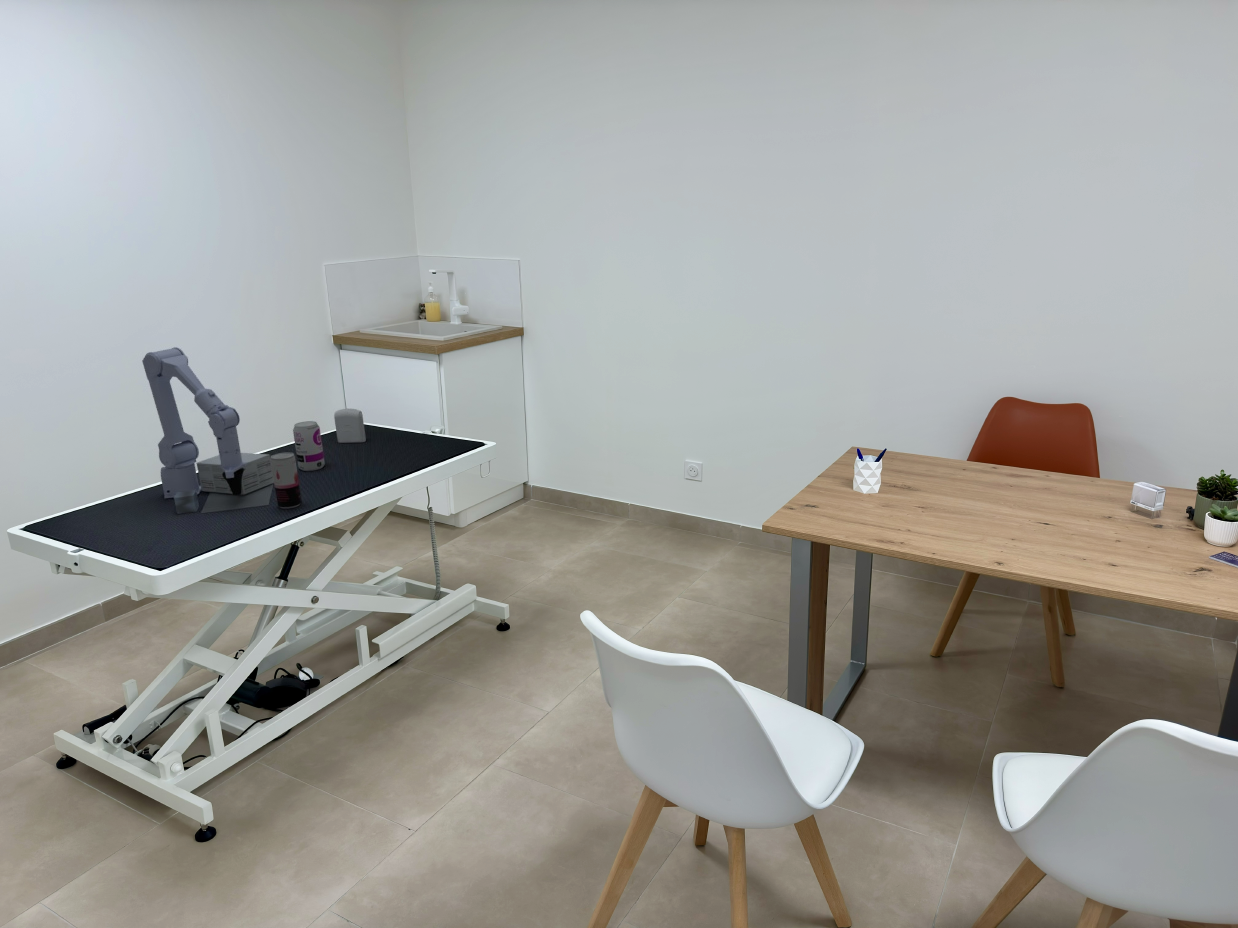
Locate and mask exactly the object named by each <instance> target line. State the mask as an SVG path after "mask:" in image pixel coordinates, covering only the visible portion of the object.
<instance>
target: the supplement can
mask: <svg viewBox="0 0 1238 928" xmlns="http://www.w3.org/2000/svg"><path fill="white" fill-rule="evenodd" d="M292 432H293V433H292V434H293V439H294V447H295V452H296V460H297V468H298V469H300V470H301V471H303V472H304V471H305V472H313V471H318V470H320V469H322V468H323V467H324V466H325V464H326V463H325V455H324V449H323V448H324V447H323V442H322V434H321V428H320V425H319V424H318V422H317V421H313V420H312V421H300V422H297V423H294V426H293V429H292Z"/></svg>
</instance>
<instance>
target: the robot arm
mask: <svg viewBox="0 0 1238 928" xmlns="http://www.w3.org/2000/svg"><path fill="white" fill-rule="evenodd" d="M142 365H143V369H144V371H145V375H146V379H147V380H148V385H149V387H150V390H151V394H152V398H153V401H154V406H155V408H156V412H157V415H158V418H159V421H160V426H161V428H162V433H163V437H161V439H160V441H159V442H158V444H157V446H158V458H159V461H160V463H161V464H162V465H163V466H162V467H161V468H160V480H161V485H162V489H163V495H164V497H163V498H164V499H170V498H173V499H174V497H175V495H176V493H177V492H184V491H193V490H196V492H197V496H198V495H200V492H201V491H202V490H201V485H199V484H200V483H199V480H198V474H197V470H196V466H195V465H196V464H195V463H197V459H198V458H199V456H200V455H199V454H200V451H199V447H198V445H197V443H196V442H195V440H194V437H193V436H192V435H190V434H189V433H187V432H185V430H184V427H183V424H182V420H181V417H180V413H179V410H178V405H177V403H176V402H177V401H176V399H175V394H174V391H173V387H172V383H171V380H172V379H173V377H174V378H176V379H177V380H179V381H180V382H181V384H183V385H184V387H186V389H188V390H189V392H191V393H192V394H193V395H194V398H193V399H194V403H195V404H196V405H197V406H198V408H199V409H201V411H202V412H203V413H204V415H206V417H208V422H207V423H208V426H209V427H210V429H211V430H212V433H213V435H214V437H215V438H216V445H217V449H218V450H217V451H218V455H219V456H220V461H221V469H222V470H223V471H224V472H223V473H222V476H223V477H224V479H225V480H226V481H227V483H228V484H229V487H230V489H231V491H232V493H233V495H238V494H241V490H242V476H243V472H244V468H241V467H243V466H247V462H242V457H241V453H242V452H241V445H240V441H239V435H238V430H237V429H238V427H237V426H238V425H239V424H240V420H241V419H240V415H239V413H238V412H237V410H236V408H234V407H231V406H229V405H227V404H225V403H224V402H223V401H222V400H221V398H219V396H218V395H217V394H216V393H215V392H214V391H213V390H212V388H211V389H210V388H205V386H204V384H202V382H201V381H200V379H199V378H198V377H197V375H196V373H194V371H193V370H192V369H191V367H190V366H189V357H188V356H187V355H186V354H185V352H184V351H183V350H182V348H179V347H177V346H176V347H175V346H174V347H171V348H168V349H163V350H158V351H153V352H152V351H151V352H147V353H146V354H145V355H144V357H143V358H142Z"/></svg>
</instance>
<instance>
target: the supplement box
mask: <svg viewBox="0 0 1238 928" xmlns="http://www.w3.org/2000/svg"><path fill="white" fill-rule="evenodd" d="M241 457H242V462H247V466H243V467H241V468H244V472H243V476H242V490H241V495H244V494H247V493H249V492H252V491H254V490H257V489H259V488H262V487H264V486H267V485H269V484H272V483H274V479H273V472H272V466H271V454H265V453H250V452H249V453H248V452H241ZM196 468H197V472H198V478H199V484H200V486H201V491H202V492H209V493H210V492H219V493H230V494H233V493H232V491H231V489H230V487H229V484H228V483H227V481H226V480H225V479H224V477H223V476H222V473H223V472H224V471H223V470H222V469H221V461H220V456H219V454H218V455H215V456H212V457H209V458H206V459H204V460H201V461H196Z"/></svg>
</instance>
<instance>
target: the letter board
mask: <svg viewBox="0 0 1238 928" xmlns="http://www.w3.org/2000/svg"><path fill="white" fill-rule="evenodd" d="M274 486H275V485H274V483H272V484H269V485H267V486H264V487H262V488H259V489H257V490H254V491H252V492H249V493H247V494H244V495H241V494H238V495H233V494H230V493H219V492H209V494H208V496H207V498H206V501H205V502H204V505H203V507H202V510H201V512H200V514H201V515H202V514H207V513H209V514H210V513H217V512H227V511H233V510H234V511H235V510H242V509H250V508H251V509H252V508H259V507H265V506H266V507H268V506H269V505H270V500H271V498H272V492H273V489H274Z"/></svg>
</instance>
